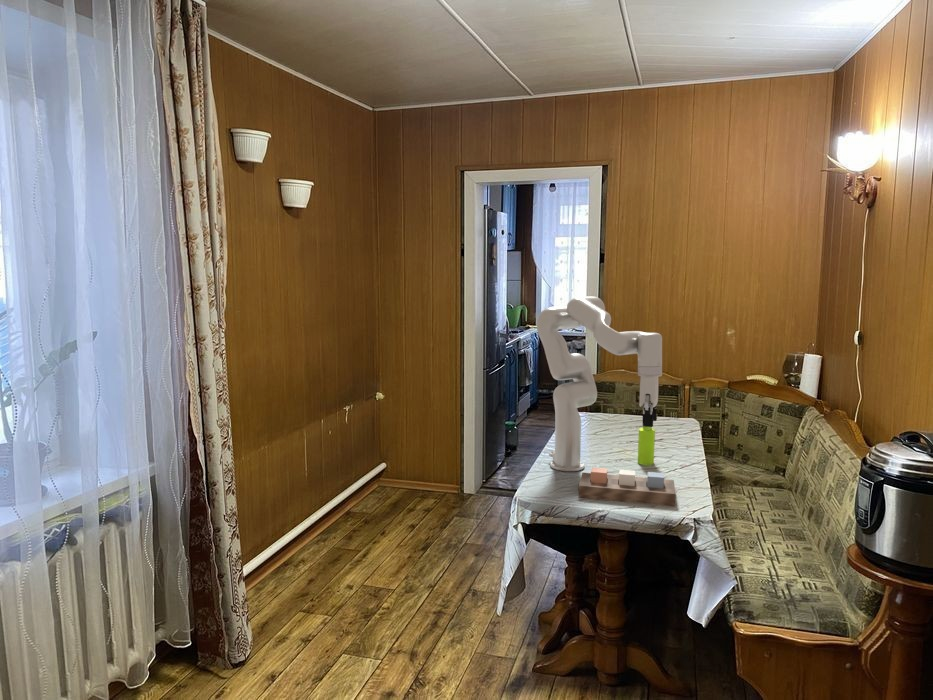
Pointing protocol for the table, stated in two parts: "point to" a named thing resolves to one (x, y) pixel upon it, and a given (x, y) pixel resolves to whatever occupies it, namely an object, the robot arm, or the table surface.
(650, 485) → the slate key
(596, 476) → the terracotta key
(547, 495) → the table surface
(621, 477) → the ivory key
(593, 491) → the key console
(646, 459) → the soap dispenser
